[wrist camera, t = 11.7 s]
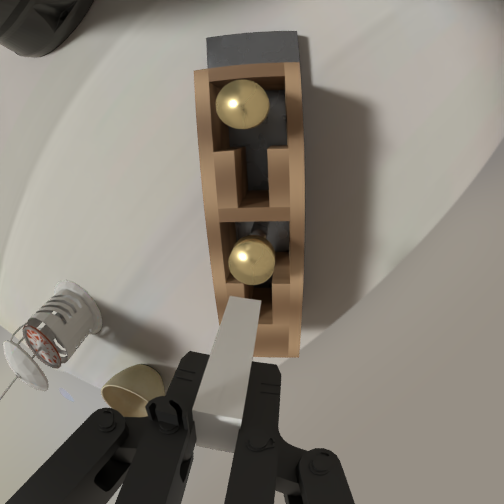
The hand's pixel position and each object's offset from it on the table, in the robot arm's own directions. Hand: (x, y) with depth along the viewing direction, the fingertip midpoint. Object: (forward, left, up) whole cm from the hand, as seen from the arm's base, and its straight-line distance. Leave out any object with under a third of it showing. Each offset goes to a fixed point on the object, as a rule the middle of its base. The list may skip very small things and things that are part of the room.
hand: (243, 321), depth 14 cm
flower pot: (+24, -19, -15) cm, 34 cm away
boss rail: (-5, 0, -15) cm, 16 cm away
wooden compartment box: (-2, 0, -14) cm, 14 cm away
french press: (+12, -29, -15) cm, 35 cm away
